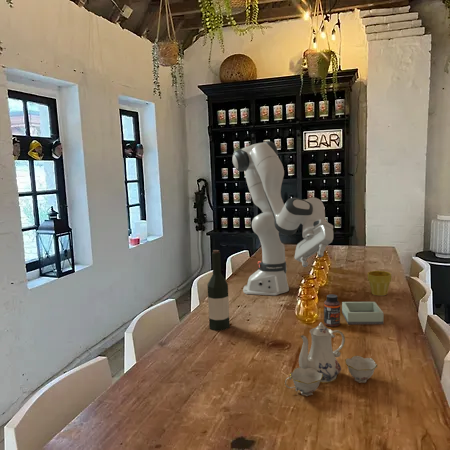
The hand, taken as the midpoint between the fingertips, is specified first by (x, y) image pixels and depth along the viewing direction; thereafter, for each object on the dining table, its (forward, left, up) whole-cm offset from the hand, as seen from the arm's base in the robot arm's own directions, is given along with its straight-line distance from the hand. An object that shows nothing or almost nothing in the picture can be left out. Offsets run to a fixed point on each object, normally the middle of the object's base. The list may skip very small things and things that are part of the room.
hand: (312, 261), depth 164 cm
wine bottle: (-36, -6, -24) cm, 44 cm away
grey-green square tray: (+19, +3, -24) cm, 31 cm away
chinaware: (-1, -46, -24) cm, 52 cm away
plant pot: (+34, +34, -24) cm, 54 cm away
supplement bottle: (+7, -4, -24) cm, 25 cm away
